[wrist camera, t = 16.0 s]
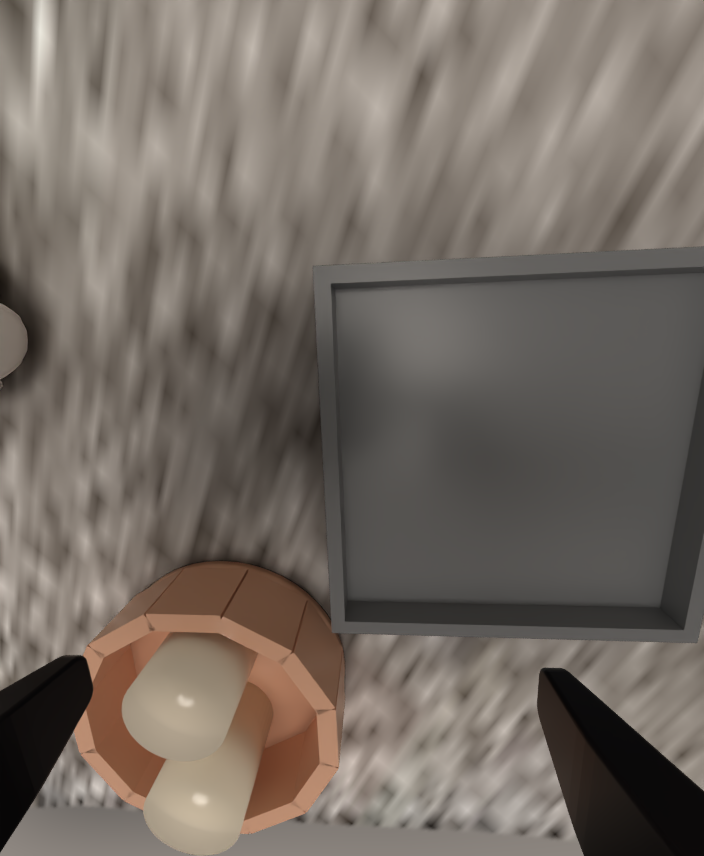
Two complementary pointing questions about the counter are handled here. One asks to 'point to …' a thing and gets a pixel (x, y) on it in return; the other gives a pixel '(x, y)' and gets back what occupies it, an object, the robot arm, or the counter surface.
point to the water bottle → (11, 341)
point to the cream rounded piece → (212, 785)
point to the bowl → (272, 672)
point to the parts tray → (515, 445)
